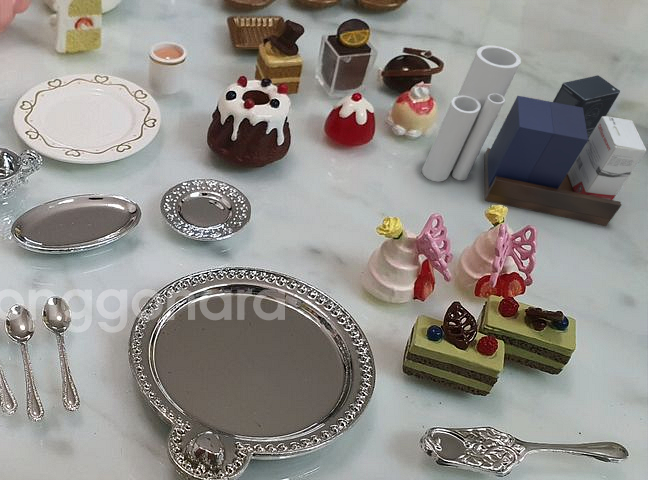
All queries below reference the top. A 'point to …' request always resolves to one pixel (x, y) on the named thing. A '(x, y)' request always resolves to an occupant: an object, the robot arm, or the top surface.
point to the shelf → (550, 199)
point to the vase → (471, 114)
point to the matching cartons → (538, 142)
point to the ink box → (607, 158)
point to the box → (589, 98)
